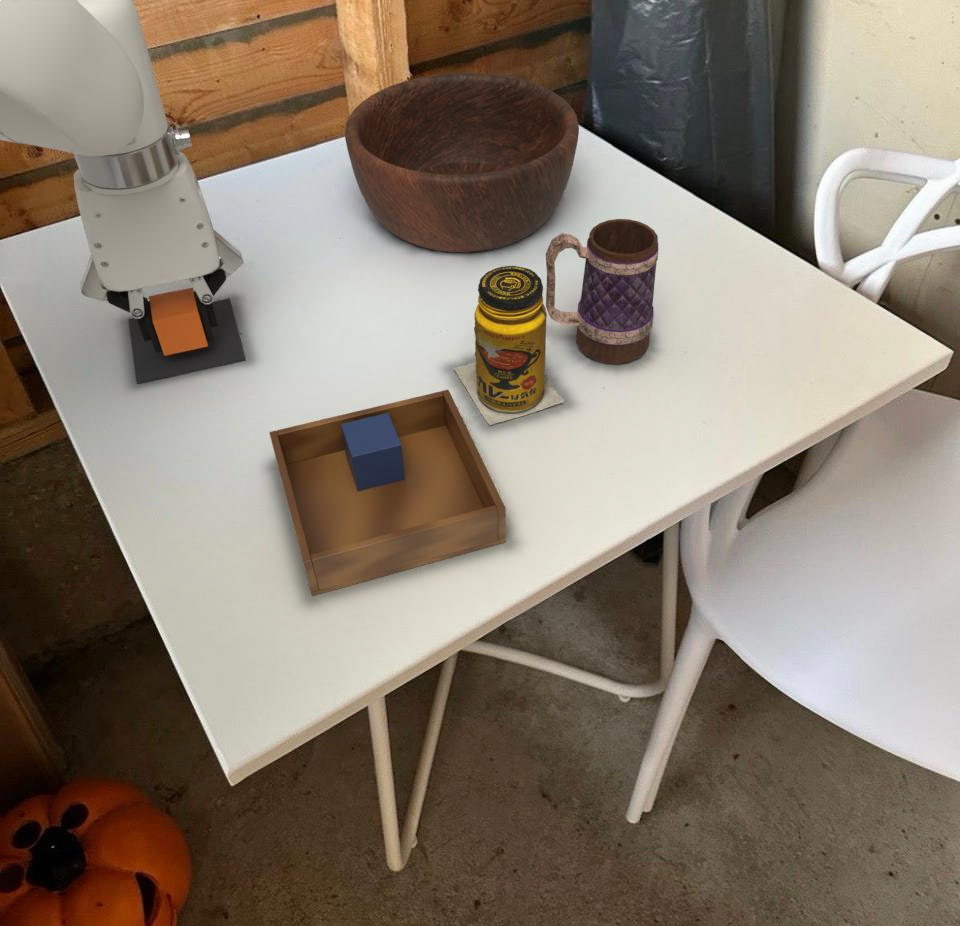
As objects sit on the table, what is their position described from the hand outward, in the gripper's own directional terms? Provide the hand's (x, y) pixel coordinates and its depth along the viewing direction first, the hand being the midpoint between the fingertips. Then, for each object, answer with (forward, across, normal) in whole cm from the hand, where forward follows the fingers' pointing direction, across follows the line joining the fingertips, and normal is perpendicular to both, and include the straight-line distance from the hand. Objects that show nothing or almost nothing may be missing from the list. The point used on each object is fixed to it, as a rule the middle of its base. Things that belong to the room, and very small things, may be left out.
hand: (183, 336), depth 86 cm
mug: (+3, -37, +12) cm, 39 cm away
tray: (+2, -13, +24) cm, 28 cm away
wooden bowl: (+3, -33, -16) cm, 37 cm away
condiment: (+3, -27, +14) cm, 31 cm away
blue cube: (+2, -13, +21) cm, 25 cm away
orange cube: (0, 0, 0) cm, 0 cm away
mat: (+2, 0, -2) cm, 3 cm away
